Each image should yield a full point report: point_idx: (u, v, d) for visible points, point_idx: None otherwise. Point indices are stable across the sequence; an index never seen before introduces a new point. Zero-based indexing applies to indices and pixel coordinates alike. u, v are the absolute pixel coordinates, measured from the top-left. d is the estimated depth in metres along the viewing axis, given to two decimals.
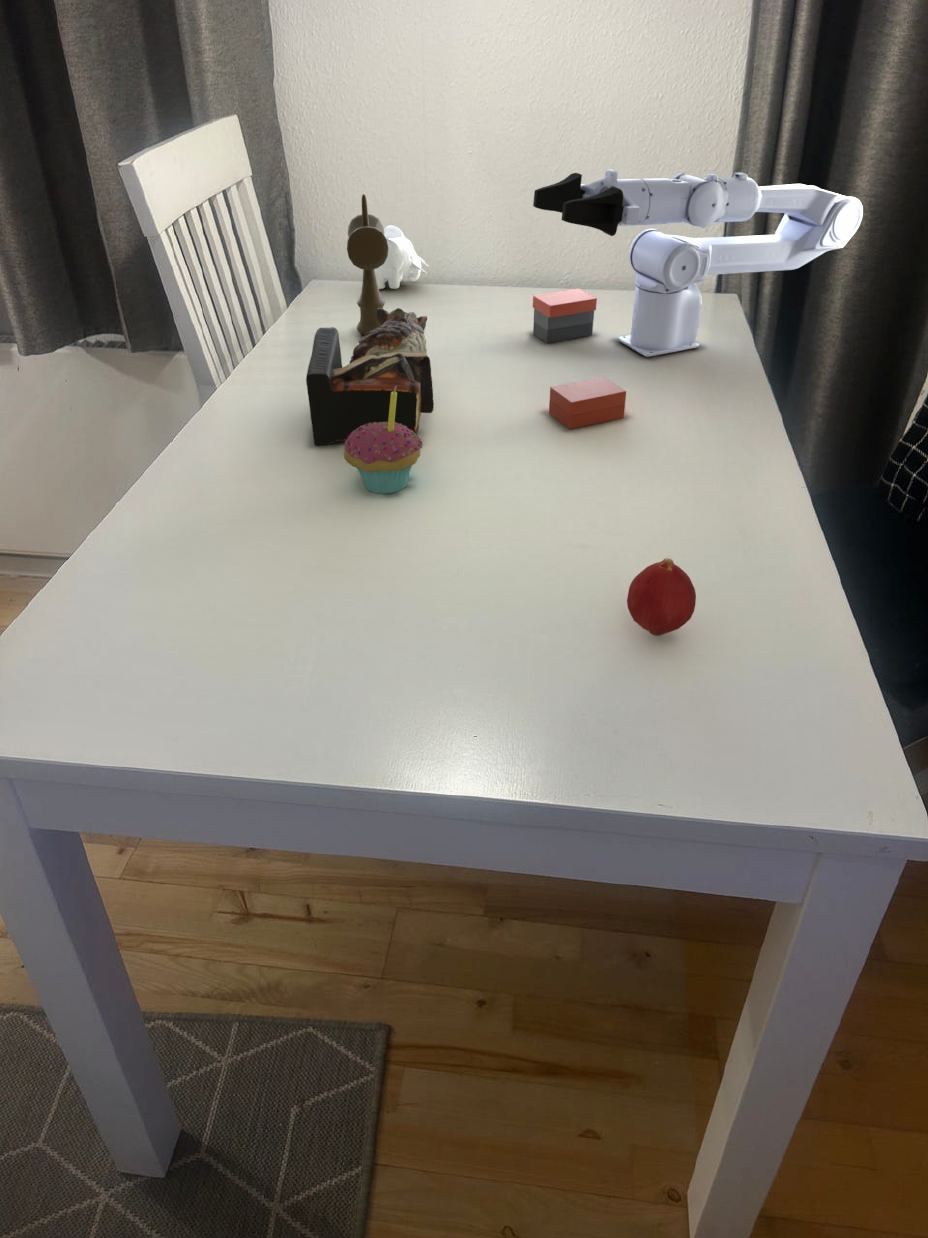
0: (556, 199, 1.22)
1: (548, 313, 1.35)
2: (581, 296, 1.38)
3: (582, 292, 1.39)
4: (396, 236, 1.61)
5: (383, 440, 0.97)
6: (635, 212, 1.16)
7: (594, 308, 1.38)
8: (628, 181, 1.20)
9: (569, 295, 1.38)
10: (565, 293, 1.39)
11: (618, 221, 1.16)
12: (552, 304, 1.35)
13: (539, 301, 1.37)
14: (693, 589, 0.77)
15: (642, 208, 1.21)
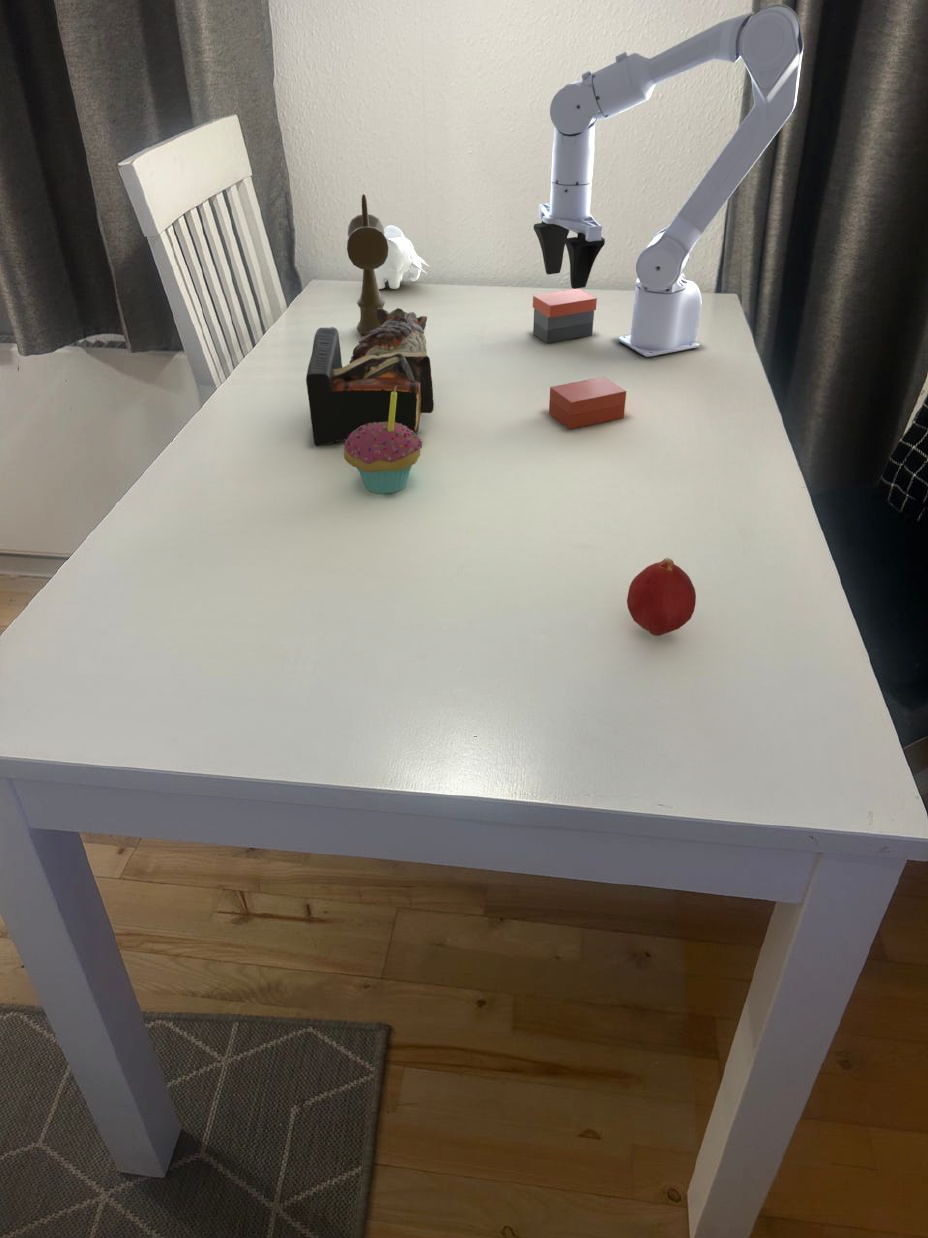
0: (555, 251, 1.37)
1: (548, 313, 1.35)
2: (581, 296, 1.38)
3: (582, 292, 1.39)
4: (396, 236, 1.61)
5: (383, 440, 0.97)
6: (593, 231, 1.26)
7: (594, 308, 1.38)
8: (556, 202, 1.28)
9: (569, 295, 1.38)
10: (565, 293, 1.39)
11: (595, 241, 1.28)
12: (552, 304, 1.35)
13: (539, 301, 1.37)
14: (693, 589, 0.77)
15: (582, 192, 1.27)
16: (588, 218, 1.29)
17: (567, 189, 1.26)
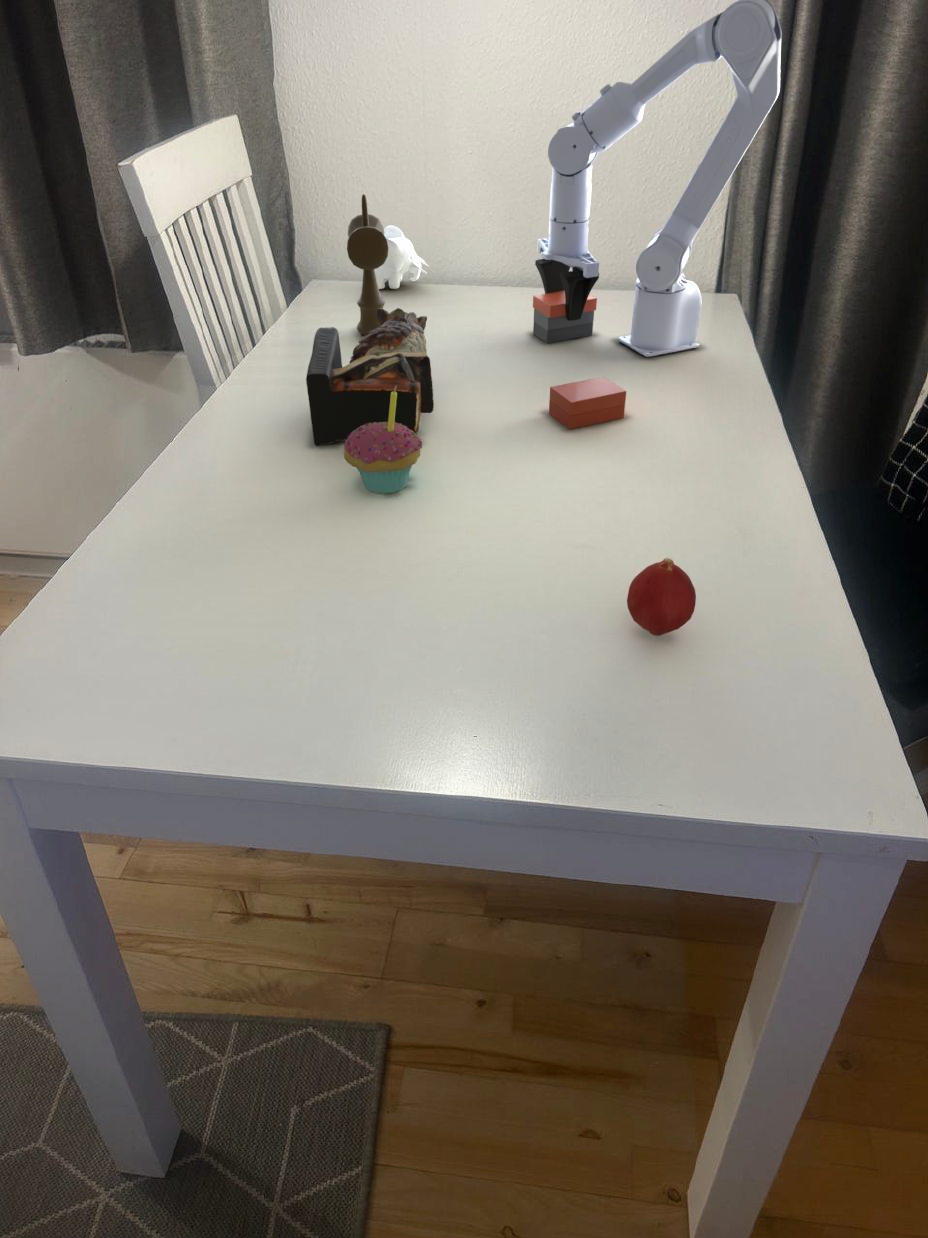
0: (556, 286, 1.39)
1: (548, 313, 1.35)
2: None
3: None
4: (396, 236, 1.61)
5: (383, 440, 0.97)
6: (590, 268, 1.29)
7: (594, 308, 1.38)
8: (554, 239, 1.31)
9: None
10: None
11: None
12: (552, 304, 1.35)
13: (539, 301, 1.37)
14: (693, 589, 0.77)
15: (580, 230, 1.29)
16: (586, 254, 1.32)
17: (565, 227, 1.29)
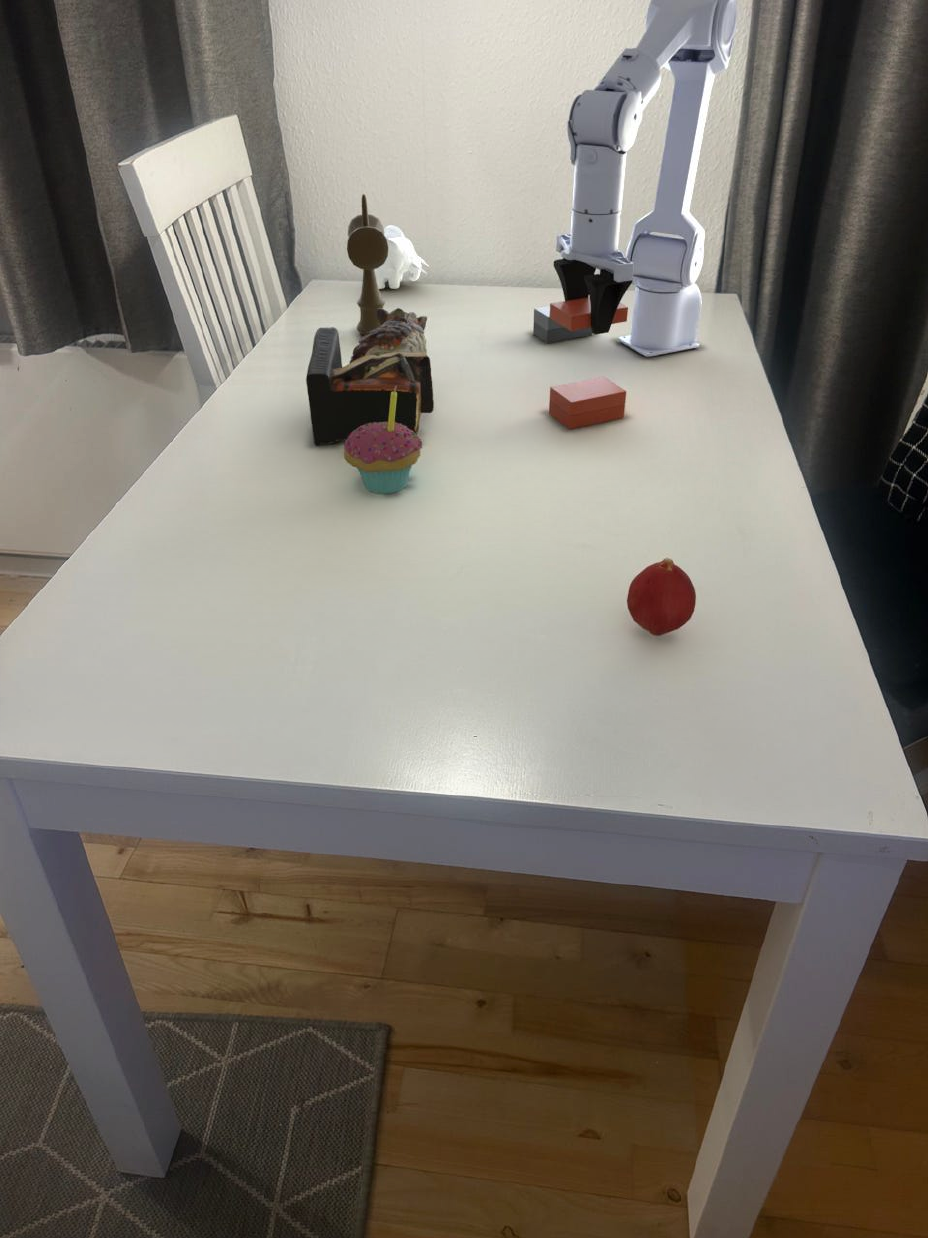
0: (579, 292, 1.14)
1: (568, 325, 1.11)
2: None
3: None
4: (396, 236, 1.61)
5: (383, 440, 0.97)
6: (623, 270, 1.04)
7: (624, 319, 1.13)
8: (578, 234, 1.06)
9: None
10: (589, 300, 1.14)
11: None
12: (574, 314, 1.10)
13: (558, 310, 1.12)
14: (693, 589, 0.77)
15: (610, 223, 1.05)
16: (616, 253, 1.07)
17: (592, 219, 1.04)
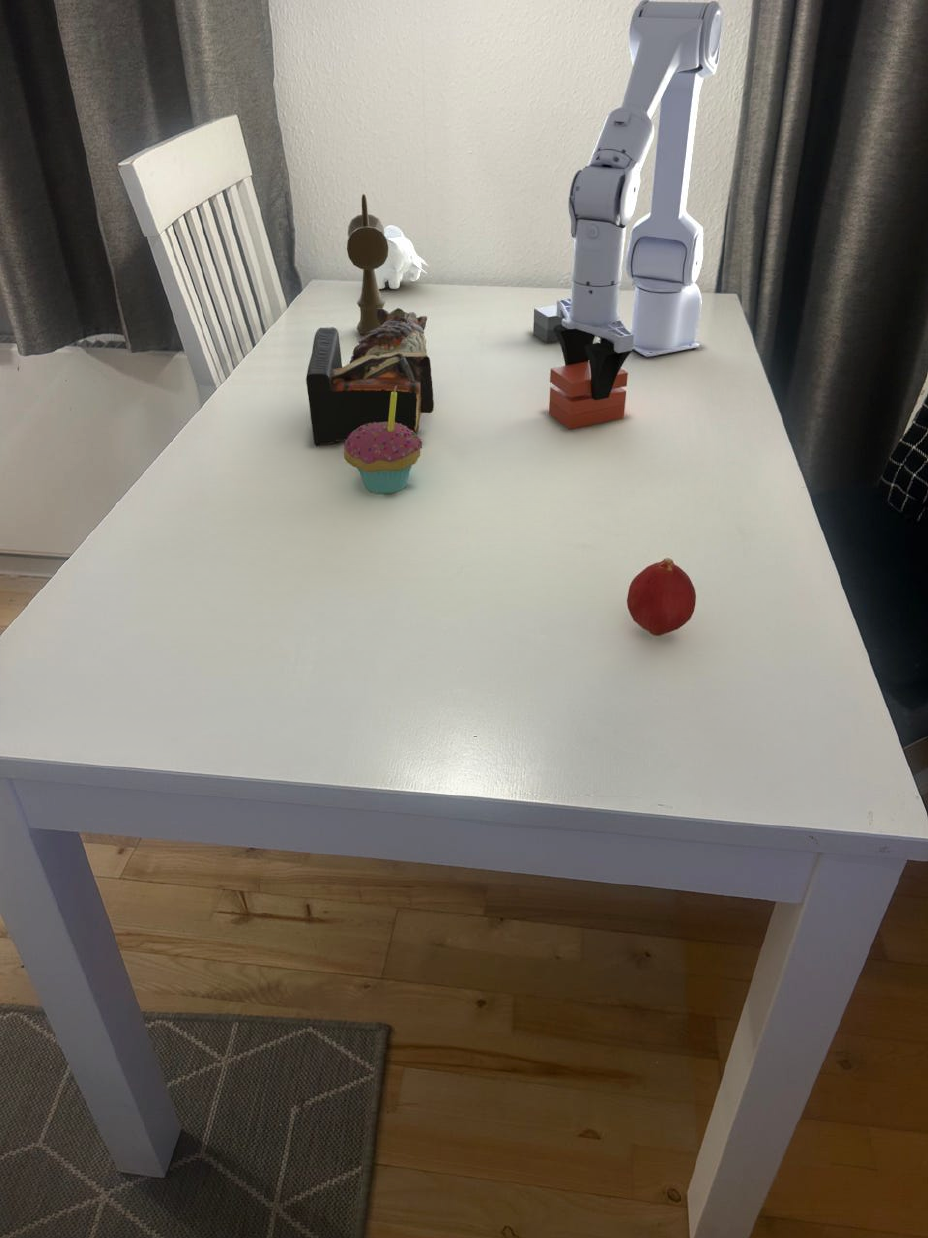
0: (579, 357, 1.15)
1: (569, 391, 1.12)
2: None
3: None
4: (396, 236, 1.61)
5: (383, 440, 0.97)
6: (623, 342, 1.05)
7: (624, 384, 1.14)
8: (578, 304, 1.07)
9: None
10: None
11: None
12: (574, 381, 1.11)
13: (558, 376, 1.13)
14: (693, 589, 0.77)
15: (610, 294, 1.06)
16: (616, 322, 1.09)
17: (592, 290, 1.05)
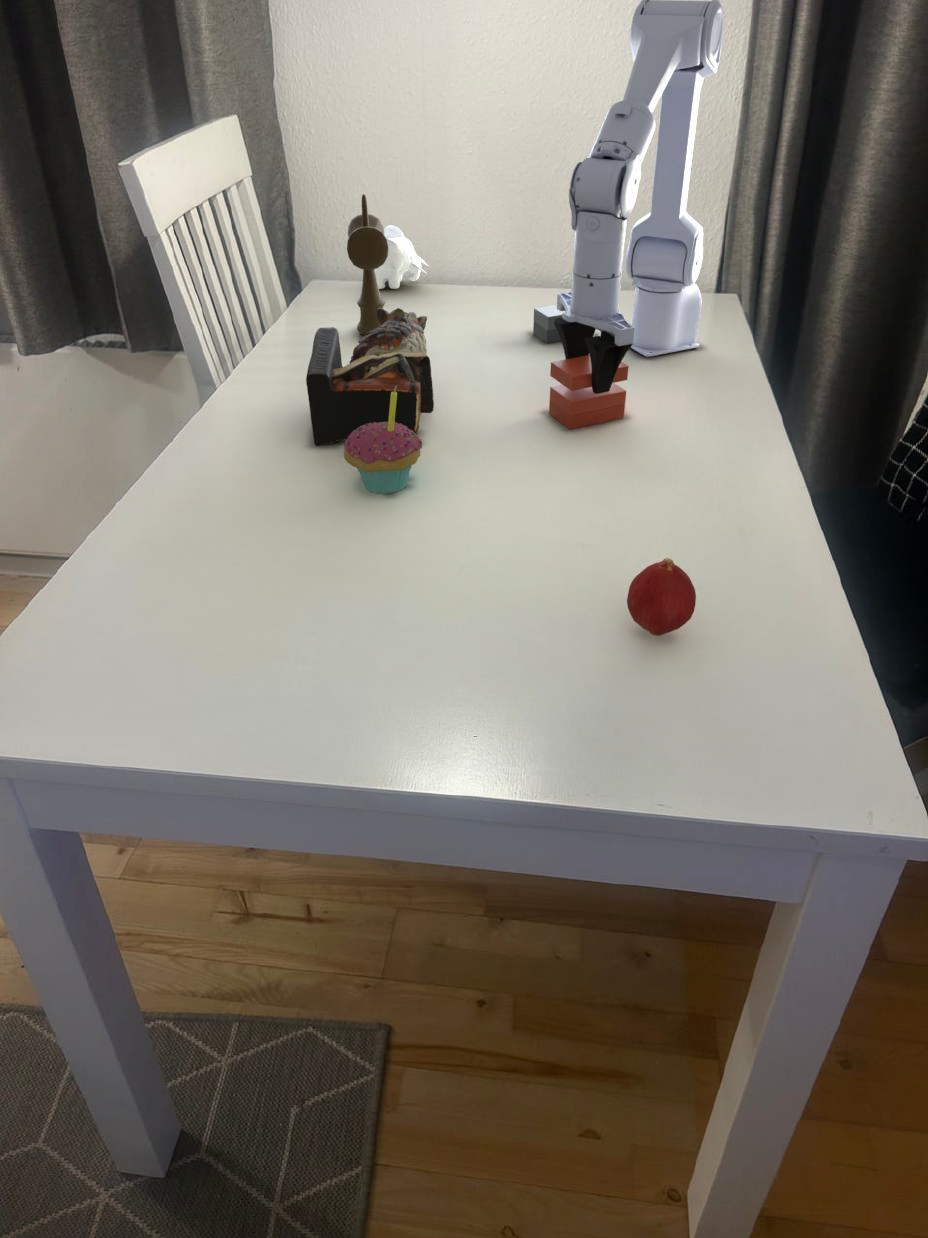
0: (580, 350, 1.15)
1: (569, 385, 1.11)
2: None
3: None
4: (396, 236, 1.61)
5: (383, 440, 0.97)
6: (624, 335, 1.04)
7: (625, 377, 1.13)
8: (578, 297, 1.07)
9: None
10: None
11: None
12: (574, 375, 1.10)
13: (559, 369, 1.13)
14: (693, 589, 0.77)
15: (610, 287, 1.05)
16: (617, 315, 1.08)
17: (592, 283, 1.05)
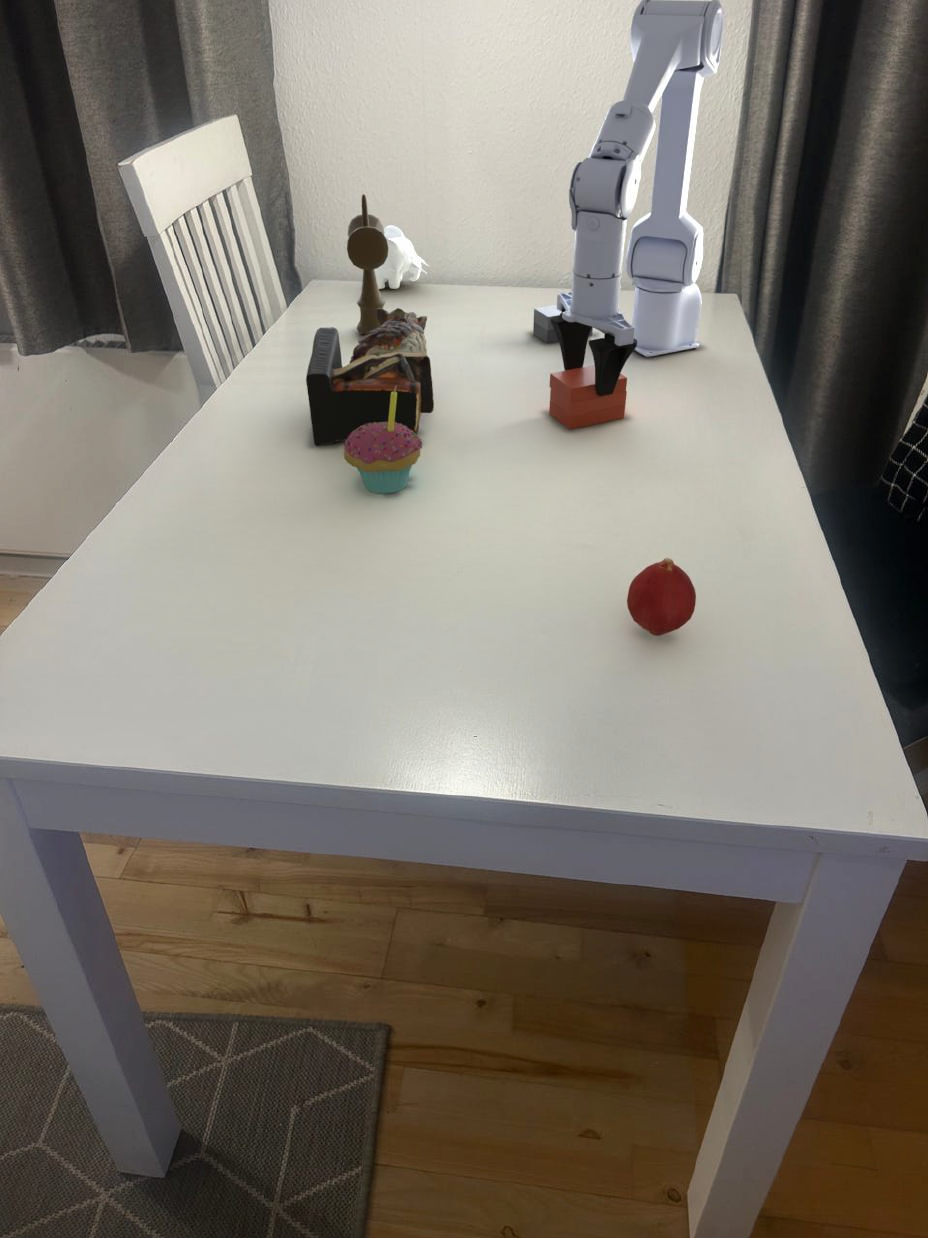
0: (576, 348, 1.16)
1: (568, 396, 1.12)
2: None
3: None
4: (396, 236, 1.61)
5: (383, 440, 0.97)
6: (624, 335, 1.04)
7: (624, 389, 1.14)
8: (578, 297, 1.07)
9: (593, 373, 1.15)
10: (589, 370, 1.16)
11: None
12: (573, 386, 1.11)
13: (558, 381, 1.13)
14: (693, 589, 0.77)
15: (610, 287, 1.05)
16: (617, 315, 1.08)
17: (592, 283, 1.05)
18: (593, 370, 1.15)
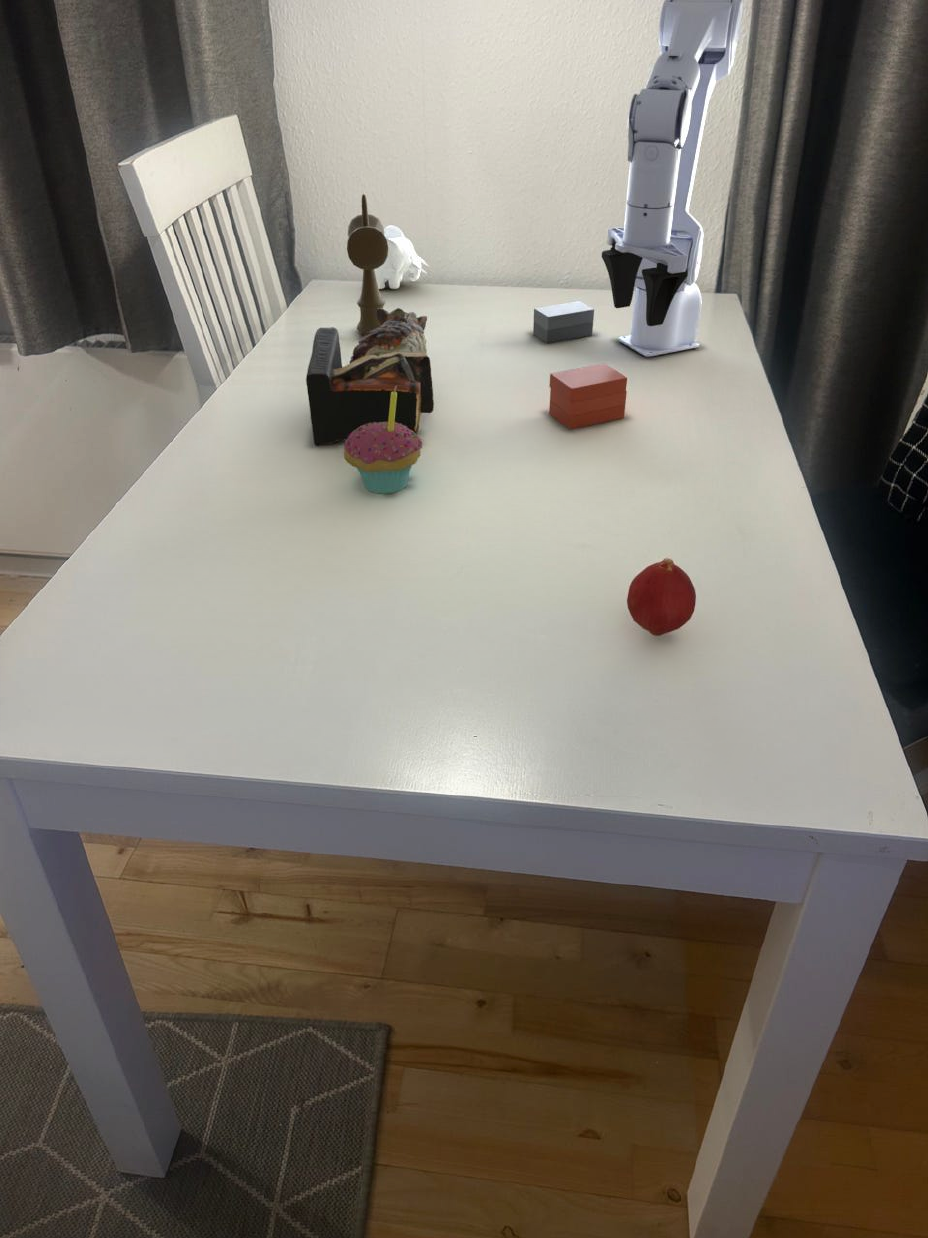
0: (626, 282, 1.19)
1: (568, 396, 1.12)
2: (608, 375, 1.14)
3: (609, 369, 1.16)
4: (396, 236, 1.61)
5: (383, 440, 0.97)
6: (677, 262, 1.08)
7: (624, 389, 1.14)
8: (632, 227, 1.10)
9: (593, 373, 1.15)
10: (589, 370, 1.16)
11: (678, 272, 1.10)
12: (573, 386, 1.11)
13: (558, 381, 1.13)
14: (693, 589, 0.77)
15: (664, 216, 1.09)
16: (668, 246, 1.12)
17: (646, 213, 1.08)
18: (593, 370, 1.15)
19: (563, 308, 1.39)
